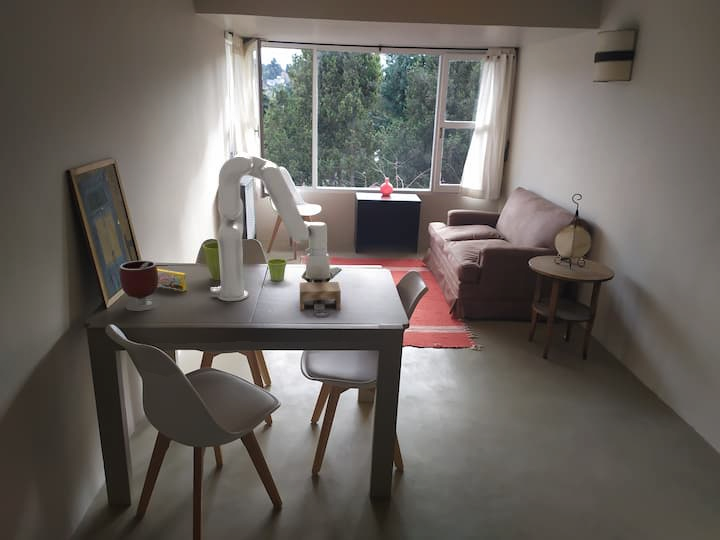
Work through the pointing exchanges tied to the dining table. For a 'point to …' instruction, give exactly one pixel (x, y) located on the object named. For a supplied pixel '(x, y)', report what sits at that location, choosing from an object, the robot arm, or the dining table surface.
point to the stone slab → (334, 270)
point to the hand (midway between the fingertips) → (317, 292)
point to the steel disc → (321, 313)
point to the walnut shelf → (320, 292)
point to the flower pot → (212, 258)
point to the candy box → (171, 279)
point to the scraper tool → (318, 303)
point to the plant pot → (277, 268)
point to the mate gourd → (139, 280)
